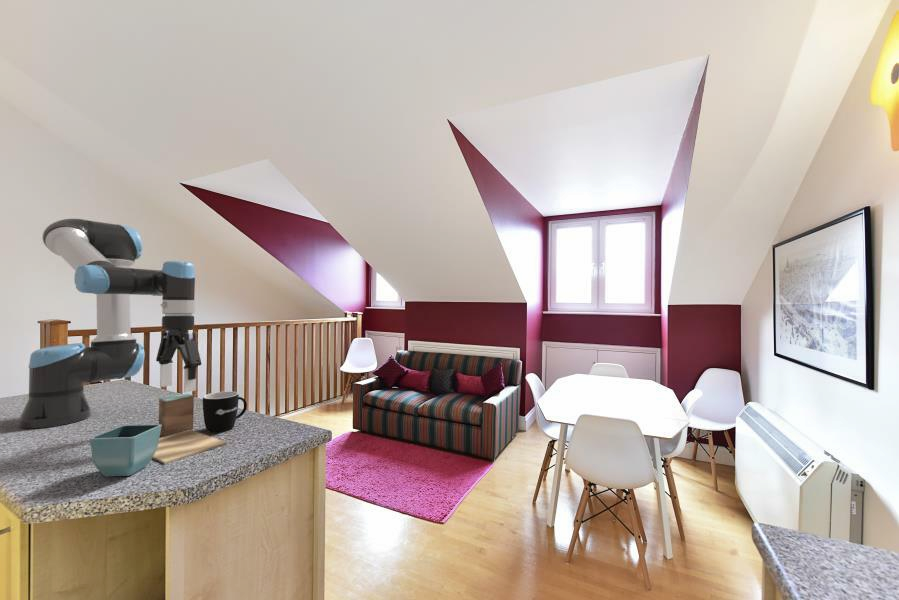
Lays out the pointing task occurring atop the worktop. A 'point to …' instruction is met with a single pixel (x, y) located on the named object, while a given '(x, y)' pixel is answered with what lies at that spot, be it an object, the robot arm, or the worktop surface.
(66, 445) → the worktop surface
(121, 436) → the flower pot
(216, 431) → the mug
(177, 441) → the mat
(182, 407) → the block
